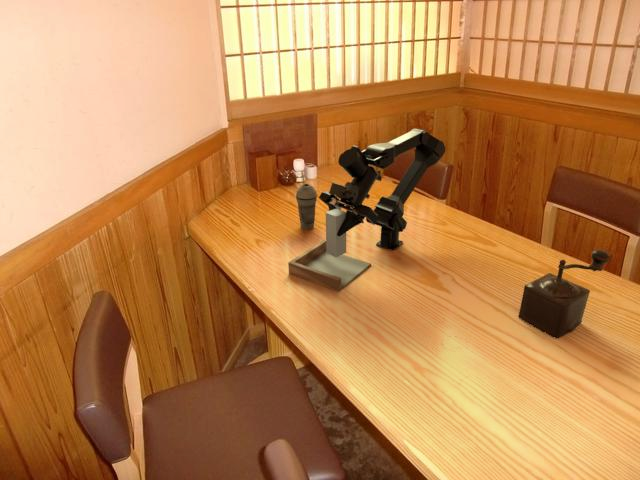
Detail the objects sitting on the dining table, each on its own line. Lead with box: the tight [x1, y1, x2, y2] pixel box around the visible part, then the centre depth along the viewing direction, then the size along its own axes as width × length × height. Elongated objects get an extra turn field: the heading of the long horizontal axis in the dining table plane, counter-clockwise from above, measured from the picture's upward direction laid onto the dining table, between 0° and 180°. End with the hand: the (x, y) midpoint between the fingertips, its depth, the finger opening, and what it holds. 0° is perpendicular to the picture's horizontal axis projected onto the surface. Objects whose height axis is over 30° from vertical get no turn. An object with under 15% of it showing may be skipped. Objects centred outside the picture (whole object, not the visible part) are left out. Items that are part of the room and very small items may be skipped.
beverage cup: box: [295, 171, 318, 231], centre depth 157 cm, size 7×7×20 cm
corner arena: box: [287, 239, 372, 293], centre depth 135 cm, size 17×17×4 cm
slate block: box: [325, 208, 347, 257], centre depth 130 cm, size 4×4×12 cm
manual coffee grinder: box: [517, 249, 611, 339], centre depth 108 cm, size 16×11×18 cm
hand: (332, 233), depth 129 cm, fingers closed on slate block, 4 cm apart
